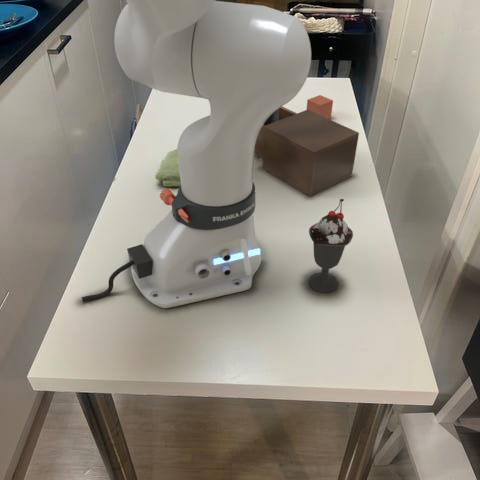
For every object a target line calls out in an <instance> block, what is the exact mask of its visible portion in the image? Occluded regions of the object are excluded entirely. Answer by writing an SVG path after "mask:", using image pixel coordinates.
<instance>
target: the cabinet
mask: <svg viewBox="0 0 480 480" xmlns="http://www.w3.org/2000/svg"><path fill="white" fill-rule="evenodd" d="M296 113H297V112H296ZM359 135H360V132H358V131H357V130H354V129H352V128H349V127H347V126H346V125H342V124H341V123H338V122H337V121H334V120H332V119H331V118H330V119H328V118H325V117H323V116H321V115H319V114H317V113H314V112H312V111H310V110H307V109H305V110H302V111H300V112H298V113H297V114H295V115H292V116H289V117H287V118H284V119H282V120H279V121H276V122H274V123H271V124H268V125H266V126H264V144H263V159H262V169H263V170H264V171H266V172H267V173H269V174H271V175H272V176H274V177H276V178H277V179H279V180H281V181H282V182H284V183H286V184H288V185H290V186H291V187H293V188H295V189H296V190H298V191H300V192H302V193H303V194H305V195H307V196H308V197H311V196H314V195H316V194H318V193H320V192H322V191H324V190H326V189H328V188H331V187H333V186H335V185H336V184H338V183H340V182H342V181H345V180H346V179H349V178H350V177H352V176H353V172H354V171H353V170H354V166H355V160H356V155H357V154H356V153H357V147H358V143H359Z"/></svg>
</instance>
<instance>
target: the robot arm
mask: <svg viewBox="0 0 480 480" xmlns="http://www.w3.org/2000/svg"><path fill="white" fill-rule="evenodd" d="M125 1H126V3H127V4H125V6H124V7H123V8H122V10H121V11H120V13H119V15H118V18H117V21H116V23H115V27H114V34H113V35H114V36H113V42H114V49H115V50H114V51H115V55H116V58H117V61H118V63H119V65H120V68H121V70H122V71H123V73H124V74H125V75H126V77H127V78H128V79H129V80H131V81H133V82H136V83H138V84H141V85H143V86H145V87H148V88H150V89H152V90H156V91H159V92H161V93H168V94H173V95H179V96H187V97H192V98H200V99H204V100H207V101H208V103H209V107H210V113H209V115H207V116H203V117H201V118H199V119H197V120H196V121H193V122H191V123H190V124H189V125H188V126H187V127H186V128H185V129H183V130H182V133H181V134H180V136H179V138H178V141H177V147H176V149H177V152H178V162H179V171H180V180H181V185H180V186H178V190H177V193H176V195H175V194H174V193H173V192H172V190H171V189H169V188H164V189H162V190H161V191H160V193H159V199H160V200H161V201H162V202H163V204H164V205H166V206H171V210H170V211H169V213H167V214H166V215H165V217H164V218H162V219H161V221H159V222H158V223H157V224H156V225H155V226H154V227H153V228H152V229H151V230H150V231H149V232H147V234H146V235H145V236H144V238H143V242H142V243H141V244H138V245H134V246H132V247H128V248H126V250H127V255H128V260H129V261H128V262H126V263H125V264H123V265H122V266H119V267H118V268H117V269H116V270H114V271H113V272H112V273H111V274H110V276H109V278H108V285H107V288H106V289H105V290H104V291H103V292H101V293H98V294H90V295H85V296H81V300H82V303H83V302H87V301H94V300H98V299H103V298H105V297H107V296H108V295H109V294H111V293H112V291H113V289H114V281H115V279H116V278H117V276H119V274H121V273H122V272H124V271H126V270H128V269H129V268H130V267H131V276H132V279H133V281H134V284H135V285H136V287H137V289H138V290H139V292H140V293H141V294H142V295H143V296H144V298H145V299H146V300H147V301H148V302H150V303H151V304H153V305H154V306H156V307H159V308H161V309H170V308H174V307H179V306H183V305H187V304H192V303H196V302H201V301H206V300H209V299H214V298H218V297H222V296H227V295H232V294H236V293H240V292H244V291H248V290H250V289H251V288H252V285H253V277H254V275H255V273H256V272H257V271H258V270H259V268H260V266H261V265H262V264H261V263H262V253H261V248H259V245H258V240H257V236H256V235H257V234H256V229H255V220H254V213H255V211H256V185H255V183H254V181H253V180H254V162H255V161H254V160H255V159H254V158H255V154H254V151H255V144H256V140H257V136H258V134H259V131H260V129H261V127H262V126H263V124H264V123H265V121H266V120H267V119H268V118H269V117H270V115H271V114H272V113H274V112H275V111H276V110H277V109H278V108H280V107H284V106H285V105H287V104H288V103H290V102H291V101H292V100H294V98H295V97H296V96H297V95H298V94H299V92H300V91H301V90H302V89H303V86H305V83H306V80H307V79H308V76H309V74H310V70H311V63H312V46H311V40H310V37H309V34H308V32H307V30H306V28H305V25H304V24H303V22H302V20H301V19H300V18H298V17H297V16H294V15H291V14H289V13H286V12H283V11H281V10H279V9H275V8H272V7H269V6H266V5H261V4H260V5H259V4H251V3H250V4H249V3H241V2H240V3H239V2H230V1H220V0H125Z"/></svg>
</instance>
